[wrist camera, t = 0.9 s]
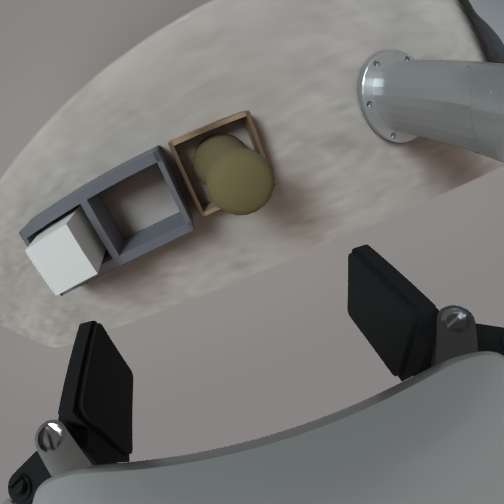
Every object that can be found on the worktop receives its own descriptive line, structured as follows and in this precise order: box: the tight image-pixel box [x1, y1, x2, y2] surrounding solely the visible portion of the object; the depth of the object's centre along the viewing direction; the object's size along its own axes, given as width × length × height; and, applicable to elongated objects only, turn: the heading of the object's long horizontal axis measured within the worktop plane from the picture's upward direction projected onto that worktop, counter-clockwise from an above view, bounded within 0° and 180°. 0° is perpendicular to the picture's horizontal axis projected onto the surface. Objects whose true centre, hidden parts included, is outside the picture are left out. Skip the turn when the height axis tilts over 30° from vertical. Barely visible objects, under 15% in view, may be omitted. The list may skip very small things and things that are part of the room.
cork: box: [193, 134, 275, 215], centre depth 26 cm, size 6×6×11 cm
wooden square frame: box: [168, 111, 275, 217], centre depth 30 cm, size 8×8×2 cm
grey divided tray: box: [19, 146, 195, 296], centre depth 28 cm, size 17×9×4 cm, turn 110°
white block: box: [25, 204, 106, 296], centre depth 27 cm, size 6×6×7 cm
